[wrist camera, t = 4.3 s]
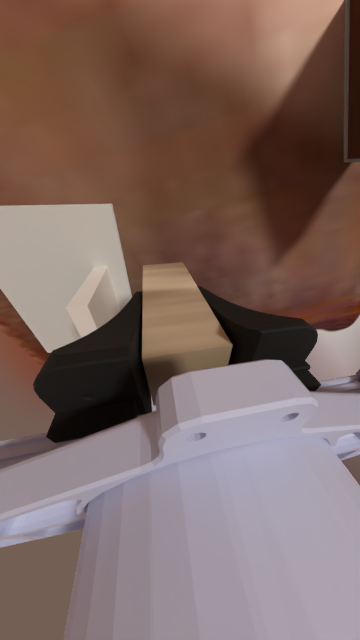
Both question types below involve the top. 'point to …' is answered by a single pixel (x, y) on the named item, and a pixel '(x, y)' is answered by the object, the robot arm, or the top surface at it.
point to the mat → (57, 263)
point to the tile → (93, 302)
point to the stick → (177, 326)
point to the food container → (351, 81)
